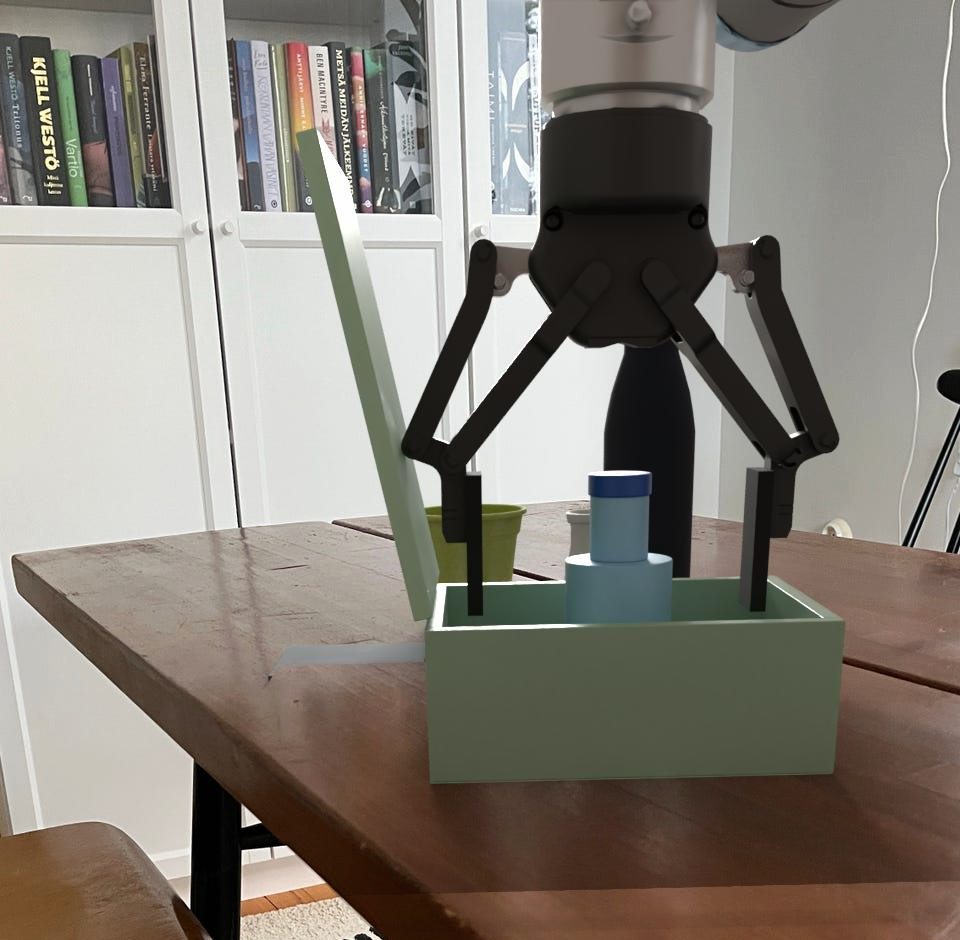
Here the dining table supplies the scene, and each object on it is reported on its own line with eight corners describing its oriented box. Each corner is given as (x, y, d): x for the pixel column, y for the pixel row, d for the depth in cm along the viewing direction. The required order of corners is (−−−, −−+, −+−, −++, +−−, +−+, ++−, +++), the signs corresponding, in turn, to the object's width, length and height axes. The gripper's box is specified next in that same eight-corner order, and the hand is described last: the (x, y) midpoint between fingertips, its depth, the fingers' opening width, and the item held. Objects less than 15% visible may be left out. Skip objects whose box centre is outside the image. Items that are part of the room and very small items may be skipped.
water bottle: (659, 723, 67) (666, 467, 62) (674, 751, 62) (683, 475, 57) (561, 726, 67) (561, 470, 62) (568, 753, 62) (569, 478, 57)
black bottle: (583, 635, 94) (586, 184, 83) (640, 624, 98) (650, 191, 87) (648, 647, 89) (660, 171, 79) (705, 634, 93) (724, 179, 83)
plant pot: (409, 633, 97) (405, 516, 94) (412, 611, 105) (407, 504, 102) (531, 629, 97) (530, 513, 94) (523, 608, 106) (522, 501, 103)
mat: (427, 648, 91) (427, 642, 91) (423, 679, 81) (422, 672, 81) (289, 652, 91) (288, 645, 91) (268, 683, 81) (267, 676, 81)
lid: (347, 179, 61) (331, 183, 61) (315, 126, 49) (294, 132, 49) (439, 573, 68) (424, 576, 68) (433, 617, 55) (414, 622, 55)
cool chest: (767, 715, 71) (775, 575, 68) (832, 789, 58) (846, 620, 55) (437, 723, 71) (432, 583, 68) (430, 799, 58) (423, 630, 56)
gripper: (327, 102, 51) (353, 626, 58) (943, 94, 51) (890, 618, 59) (345, 136, 58) (365, 600, 65) (886, 128, 58) (845, 593, 66)
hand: (613, 610), depth 62 cm, fingers open, 13 cm apart
